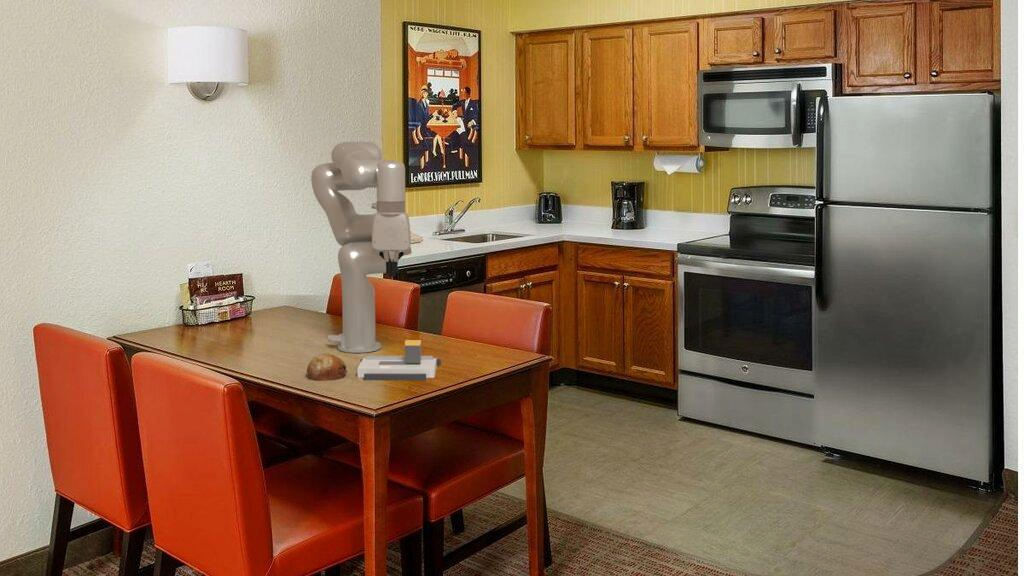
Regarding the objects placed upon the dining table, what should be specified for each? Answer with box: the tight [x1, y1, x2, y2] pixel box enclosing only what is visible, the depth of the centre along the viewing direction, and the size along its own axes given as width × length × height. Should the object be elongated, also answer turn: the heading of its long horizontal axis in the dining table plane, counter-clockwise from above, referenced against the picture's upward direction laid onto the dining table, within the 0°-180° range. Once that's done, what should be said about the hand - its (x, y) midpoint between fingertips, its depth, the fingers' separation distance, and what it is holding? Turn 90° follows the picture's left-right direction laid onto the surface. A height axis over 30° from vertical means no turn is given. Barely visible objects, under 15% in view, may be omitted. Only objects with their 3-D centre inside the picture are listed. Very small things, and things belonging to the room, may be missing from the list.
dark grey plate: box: [360, 358, 442, 381], centre depth 259 cm, size 22×18×1 cm
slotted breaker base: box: [357, 355, 438, 379], centre depth 258 cm, size 20×12×3 cm, turn 91°
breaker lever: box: [404, 339, 422, 363], centre depth 258 cm, size 4×3×6 cm
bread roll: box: [306, 352, 348, 382], centre depth 253 cm, size 10×10×8 cm
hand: (391, 275), depth 261 cm, fingers closed
